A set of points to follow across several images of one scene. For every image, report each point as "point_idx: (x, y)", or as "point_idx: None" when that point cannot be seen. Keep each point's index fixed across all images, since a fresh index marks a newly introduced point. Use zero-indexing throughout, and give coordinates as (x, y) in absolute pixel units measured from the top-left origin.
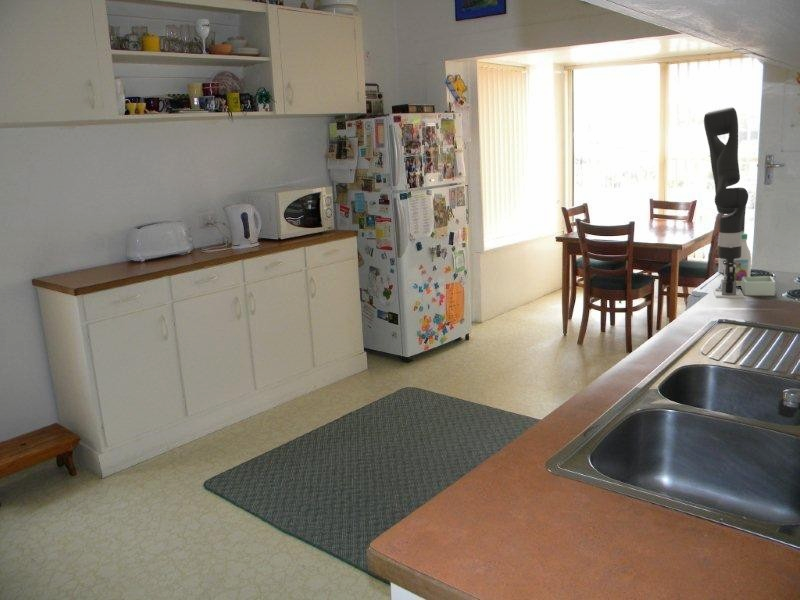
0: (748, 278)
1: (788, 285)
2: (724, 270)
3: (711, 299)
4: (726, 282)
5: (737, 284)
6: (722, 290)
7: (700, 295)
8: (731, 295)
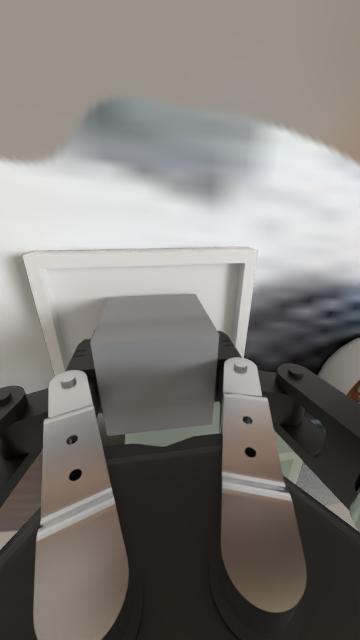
0: (283, 467)
1: (318, 501)
2: (55, 476)
3: (9, 219)
4: (60, 377)
5: (329, 382)
6: (104, 311)
7: (140, 138)
8: (55, 352)
